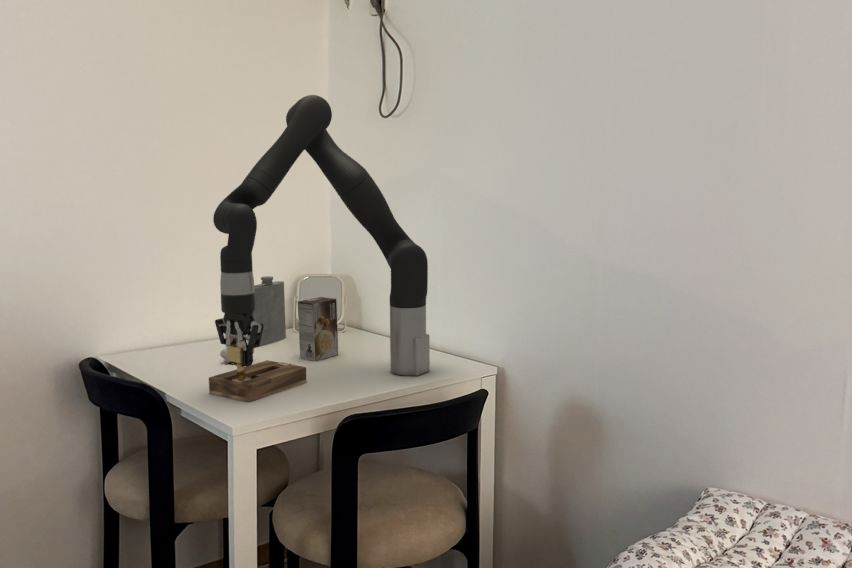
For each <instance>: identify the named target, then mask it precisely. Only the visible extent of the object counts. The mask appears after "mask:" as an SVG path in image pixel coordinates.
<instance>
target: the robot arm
mask: <svg viewBox="0 0 852 568" xmlns="http://www.w3.org/2000/svg"><path fill="white" fill-rule="evenodd" d="M332 117H333V111H332V108H331V105H330V103H329V102H328V101H327V100H326V99H325V98H324V97H323V96H320V95H317V94H309V95H306V96H303V97H301V98H300V99H299V100H297V101H296V102H295V103H294V104H293V105H292V106H291V107H290V108H289V109H288V111H287V112H286V116H285V123H286V128H285V129H284V130H283V131H282V133H281V134H280V135H279V137H278V139H276V141H275V142H274V143H273V144H272V146H270V148H268V149H267V151H266V152H265V153H264V154H263V155H262V156H261V157H260V158H259V159H258V160H257V162H256V163H255V165H254V166H253V167H252V168H251V170H250V171H249V173H248V174H247V175H246V176H245V178H244V179H243V181H242V182H241V183H240V185H238V186H237V187H236V188H235V189H233V190H232V191H231V192H230V193H229V194H228V195H227V196H226V197H225V198H224V199H223V200H222V201H221V202H219V204H218V205H217V207H216V209H215V210H214V213H213V218H212V220H213V221H212V222H213V225H214V228H216V230H218V231H219V232H220V233H223V234H226V235H227V237H228V238H227V244H226V245H225V246H224V247H222V248H221V250H220V254H219V255H220V256H219V259H220V281H219V282H220V283H219V284H220V286H219V287H220V306H221V307H220V310H221V312H222V313H223V318H218V319H215V320H214V324H215V329H216V330H217V335H218V338H219V342H220V344H221V345H225V348H227V346H229V345H233V344H237V342H238V338H239V341H241V344H242V348H243V350H244V351H243V366H245V367H247V366H250V365H253V362H254V353H253V349H254V350H255V349H257V348H260V347H261V346H260V341H261V337H262V332H263V328H264V325H263V324H262V323H260V324H258V323H256V322H255V321H254V318H253V311H254V310H255V292H254V285H255V279H254V278H255V277H254V271H253V249H254V246H255V245H254V244H255V240H256V235H257V227H258V221H257V216H256V212H255V211H254V209H255V208H257V207H260V206H263V205H265V204H266V203H267V202H268V201H269V200H270V198H271V197H272V195H273V194H274V193H275V192H276V190H277V189H278V188H279V186H280V185H281V183H282V181H283V180H284V179H285V177H286V176H287V174H288V172H290V170H291V169H292V167H293V166H294V164H295V163H296V161H297V160H298V159H299V157H300V156H301V155H302V154H303V152H304V151H305V152H306V153H307V154H308V155H309V156H310V157H311V159H312V160H313V161H314V162H315V163H316V164H317V167H318V169H320V171H321V172H322V174H323V176H325V177H326V179H327V181H328V182H329V183H330V184H331V187H333V190H335V192H336V193H337V195H338V196H339V198H340V200H341V201H342V202H343V204H344V205H345V207H346V208H347V209H348V211H349V212H350V213H351V214H352V216H353V217H354V218H355V219H356V220H357V221H358V223H359V224H360V225H361V226H362V227H363V228H364V229H365V230H366V231H367V232H368V234H369V235H370V236H371V237H372V238H373V240H374V242H375V243H376V245H377V246H378V248H379V250H380V252H381V253H382V255H383V256H384V259H385V261H386V262H387V264H388V267H389V268H390V294H389V352H390V353H389V356H390V357H389V358H390V359H389V361H390V373H391V374H395V375H398V376H415V377H418V376H420V375H422V374H424V373H427V372H430V370H431V368H430V366H431V365H430V363H431V361H430V359H431V357H430V354H431V353H430V349H431V348H430V334H428V333H427V296H428V290H429V289H428V281H429V279H428V278H429V277H428V274H429V273H428V272H429V269H428V265H429V264H428V262H429V261H428V256H427V253H426V251H425V250H424V249H423V248H422V247H421V246H420V245H418V244H416V243H415V242H414V241H413V240H412V238H411V237H409V235H408V234H407V232H405V231H404V229H403V228H402V227H401V225H400V224H399V222H398V221H397V220H396V218H395V217H394V214H393V212H392V210H391V209H390V206H389V203H388V202H387V200H386V198H385V196H384V194H383V193H382V191H381V189H380V188H379V186H378V185H377V183H376V181H375V180H374V179H373V177H372V176H371V174H370V173H369V172H368V171H367V170H366V168H365V167H364V166H363V165H361V164H360V163H359V162H358V161H357V160H356V159H354V158H352V157H351V156H350V155H348V154H347V153H346V152H345V151H343V150H342V149H341V148H340V147H339V146H338V145H337V143H336V142H335V141H334V139H333V137H331V135H330V133H329V131H328V130H327V129H328V128H329V126H330V124H331V122H332ZM243 335H247V336H246V337H244V336H243ZM232 339H233V340H232ZM254 342H255V343H254ZM247 344H248V345H247ZM259 346H260V347H259ZM228 363H229V364H231V365H234V364H237V363H236V362H231V361H229V362H228Z"/></svg>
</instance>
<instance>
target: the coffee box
mask: <svg viewBox="0 0 852 568" xmlns="http://www.w3.org/2000/svg"><path fill="white" fill-rule="evenodd" d="M337 303H338V302H337V298H331V297H322V296H320V297H314V298H309V299H308V298H307V299H303V300H299V301H297V312H298V313H297V314H298V315H297V316H298V335H299V336H298V337H299V338H298V339H299V341H298V342H299V358H300V359H303V360H309V361H313V362H319V361H321V360H324V359H328V358H331V357H334V356H338V355H339V337H338V331H339V330H338V308H337Z"/></svg>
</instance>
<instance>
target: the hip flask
mask: <svg viewBox="0 0 852 568" xmlns="http://www.w3.org/2000/svg"><path fill="white" fill-rule="evenodd" d="M260 280H261V283H260V284H254V292H255V310H254V311H253V318H254V321H255V322H256V323H258V324H260V323H262V324H263V325H264V328H263V332H262V337H261V341H260V346H259V347H258V348H261V347H264V346H268V345H270V344H271V345H272V344H275V343H276V342H280V341H282V340H285V339H286V338H287V330H286V326H287V325H286V305H285V304H286V302H285V301H286V299H285V296H286V295H285V282H284V281H283V280H282V281H281V280H280V281H279V280H278V281H273V280H274V276H268V275H267V276H262V277H260ZM254 343H255V342H254Z"/></svg>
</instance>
